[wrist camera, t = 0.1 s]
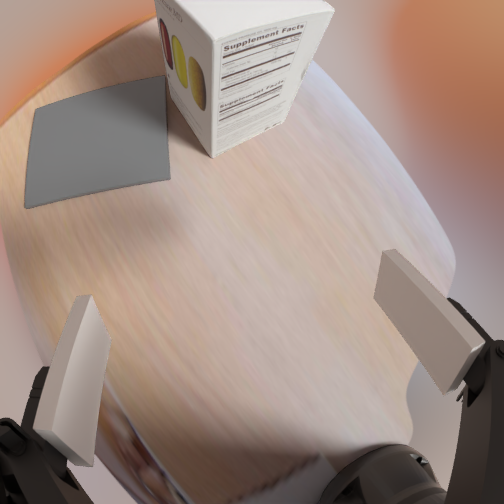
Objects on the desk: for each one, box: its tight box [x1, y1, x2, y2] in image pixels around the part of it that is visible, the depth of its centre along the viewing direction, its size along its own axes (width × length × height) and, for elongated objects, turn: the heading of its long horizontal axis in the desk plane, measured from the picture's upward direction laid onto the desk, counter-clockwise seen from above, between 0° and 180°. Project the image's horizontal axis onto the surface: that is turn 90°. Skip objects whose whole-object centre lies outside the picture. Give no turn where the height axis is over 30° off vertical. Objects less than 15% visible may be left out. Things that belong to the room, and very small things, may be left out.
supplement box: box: [154, 0, 335, 158], centre depth 22 cm, size 10×9×17 cm
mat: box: [25, 75, 171, 209], centre depth 28 cm, size 13×17×1 cm
